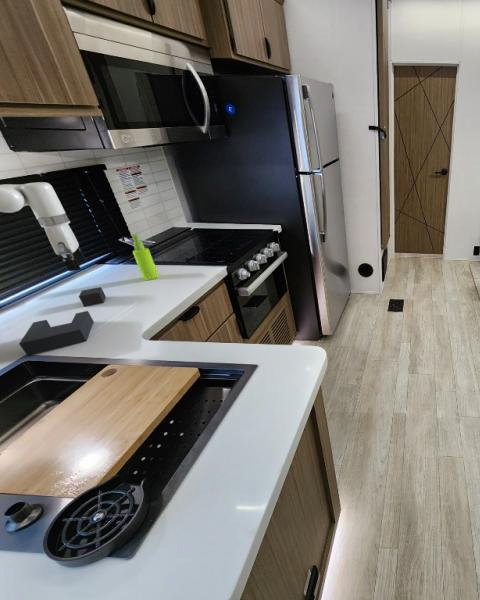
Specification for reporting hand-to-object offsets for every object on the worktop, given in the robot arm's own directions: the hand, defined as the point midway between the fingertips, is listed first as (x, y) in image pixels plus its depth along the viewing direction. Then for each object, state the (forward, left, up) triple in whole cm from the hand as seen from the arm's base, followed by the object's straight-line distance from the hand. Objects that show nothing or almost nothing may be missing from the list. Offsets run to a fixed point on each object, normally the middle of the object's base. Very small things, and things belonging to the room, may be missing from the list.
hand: (78, 265), depth 123 cm
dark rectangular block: (-5, -26, -15) cm, 30 cm away
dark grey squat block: (0, 0, -15) cm, 15 cm away
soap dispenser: (+18, +16, -16) cm, 29 cm away
